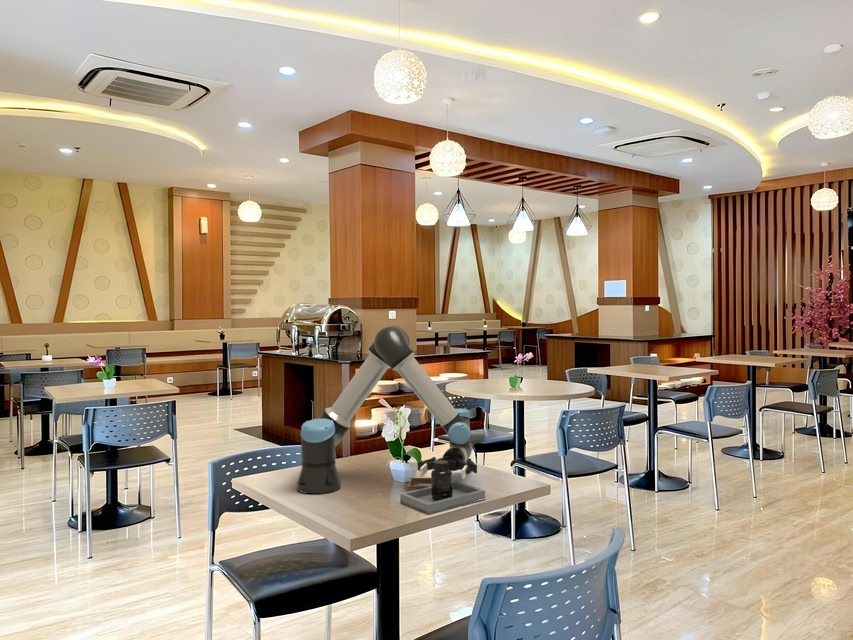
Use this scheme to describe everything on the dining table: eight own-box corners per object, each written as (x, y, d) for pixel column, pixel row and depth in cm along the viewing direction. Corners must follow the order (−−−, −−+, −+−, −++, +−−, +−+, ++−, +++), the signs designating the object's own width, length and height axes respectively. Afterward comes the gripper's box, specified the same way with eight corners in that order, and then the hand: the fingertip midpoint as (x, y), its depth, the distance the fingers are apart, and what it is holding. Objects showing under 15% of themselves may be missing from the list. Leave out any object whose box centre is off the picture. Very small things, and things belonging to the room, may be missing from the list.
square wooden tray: (410, 482, 222) (410, 477, 222) (440, 482, 221) (440, 477, 221) (407, 491, 211) (407, 486, 211) (439, 491, 210) (439, 486, 210)
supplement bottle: (429, 496, 203) (428, 459, 202) (449, 494, 204) (449, 458, 204) (434, 502, 196) (433, 465, 196) (454, 501, 197) (454, 463, 197)
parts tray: (400, 502, 199) (400, 493, 199) (455, 489, 213) (455, 480, 213) (428, 514, 187) (428, 504, 187) (485, 499, 201) (485, 490, 201)
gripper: (490, 470, 216) (480, 487, 195) (420, 467, 222) (404, 483, 201) (489, 448, 216) (480, 463, 195) (420, 446, 222) (404, 460, 201)
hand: (441, 473), depth 198 cm, fingers open, 13 cm apart
